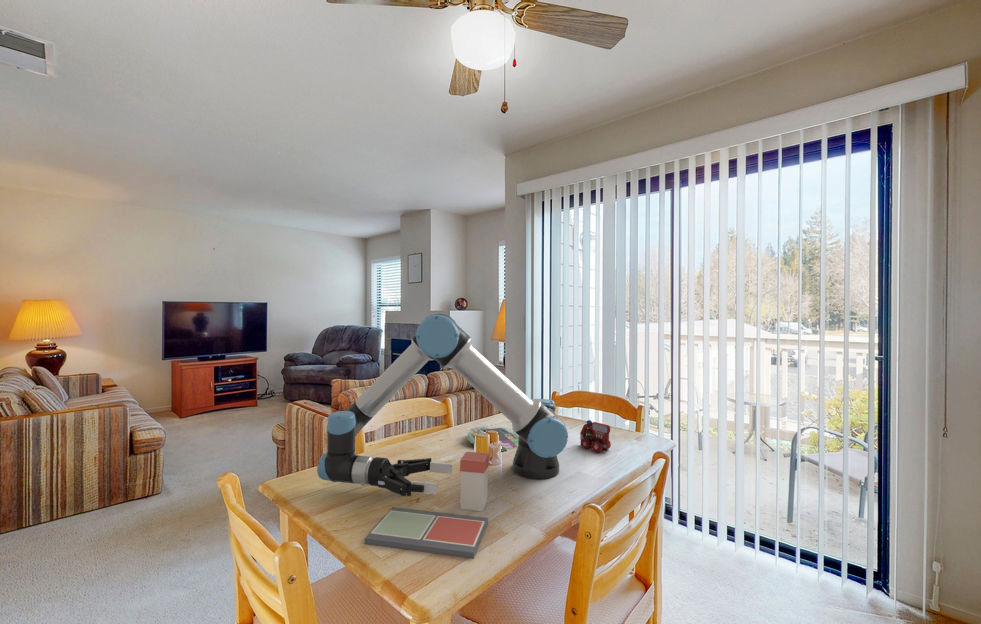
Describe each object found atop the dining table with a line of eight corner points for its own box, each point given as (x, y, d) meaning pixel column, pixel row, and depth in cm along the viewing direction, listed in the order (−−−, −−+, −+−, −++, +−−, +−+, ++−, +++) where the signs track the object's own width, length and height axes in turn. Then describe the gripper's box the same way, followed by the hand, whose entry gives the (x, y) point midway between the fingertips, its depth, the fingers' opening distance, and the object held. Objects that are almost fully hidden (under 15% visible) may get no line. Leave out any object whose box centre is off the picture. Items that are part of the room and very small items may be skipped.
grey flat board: (487, 522, 105) (488, 517, 104) (473, 558, 90) (473, 551, 90) (392, 511, 109) (392, 506, 109) (364, 543, 95) (364, 537, 95)
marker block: (488, 500, 116) (489, 453, 116) (483, 511, 110) (484, 461, 110) (465, 498, 118) (466, 451, 117) (459, 509, 111) (460, 459, 111)
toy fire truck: (586, 442, 167) (587, 416, 167) (614, 451, 158) (615, 423, 158) (575, 446, 163) (576, 419, 163) (603, 455, 153) (604, 426, 153)
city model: (496, 464, 149) (498, 448, 148) (450, 441, 164) (452, 426, 163) (537, 448, 168) (539, 433, 167) (492, 429, 183) (494, 415, 182)
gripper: (391, 467, 132) (457, 474, 128) (349, 504, 107) (429, 514, 103) (391, 443, 132) (457, 449, 127) (349, 475, 107) (429, 483, 103)
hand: (445, 478), depth 115 cm, fingers open, 13 cm apart
